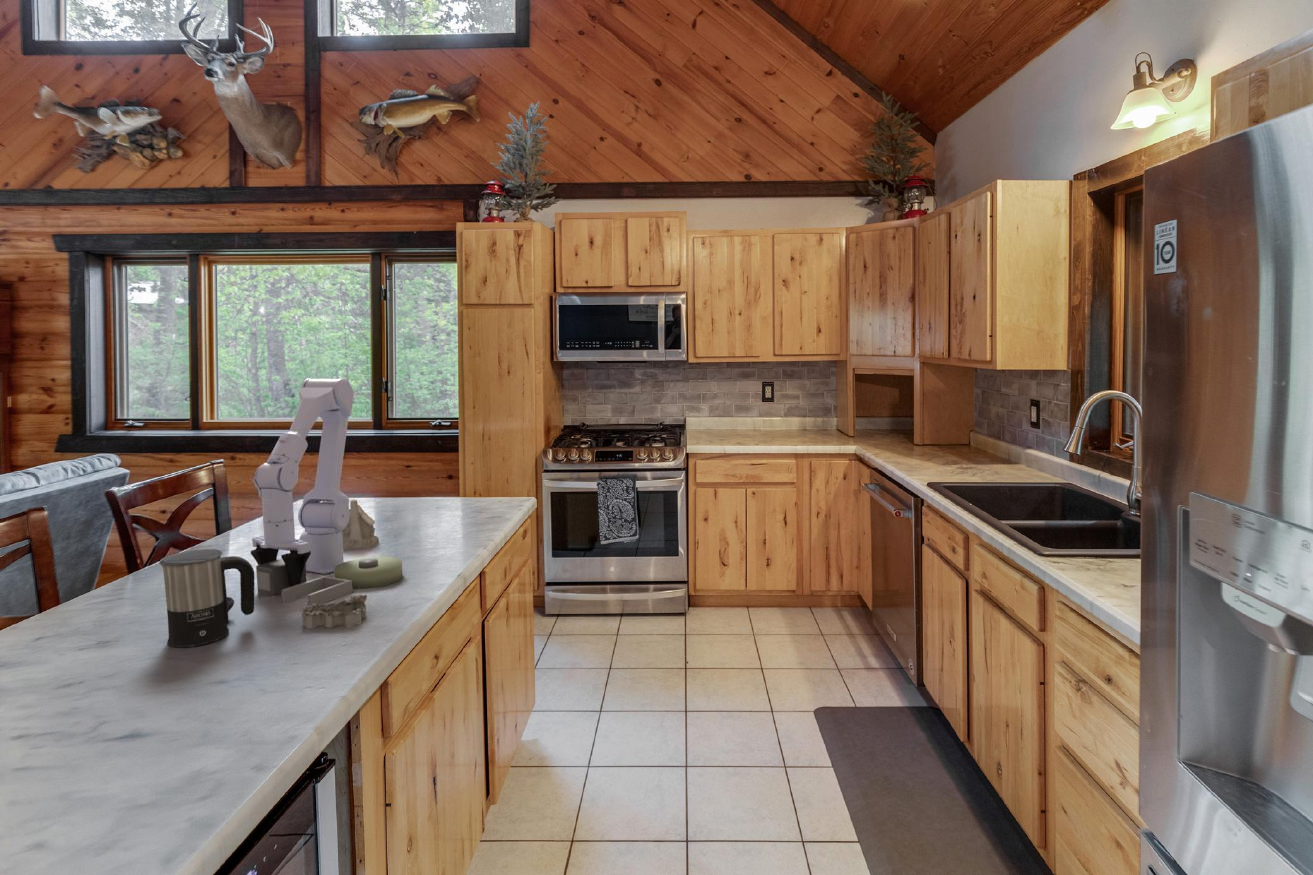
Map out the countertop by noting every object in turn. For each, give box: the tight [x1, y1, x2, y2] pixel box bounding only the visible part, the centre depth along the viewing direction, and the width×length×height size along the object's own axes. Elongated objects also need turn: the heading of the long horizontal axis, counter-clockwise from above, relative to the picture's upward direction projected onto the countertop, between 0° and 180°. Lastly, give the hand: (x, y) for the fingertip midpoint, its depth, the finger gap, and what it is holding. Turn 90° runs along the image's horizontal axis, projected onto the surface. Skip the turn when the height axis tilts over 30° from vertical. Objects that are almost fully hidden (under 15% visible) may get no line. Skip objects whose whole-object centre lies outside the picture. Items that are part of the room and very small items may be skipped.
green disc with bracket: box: [281, 556, 403, 605], centre depth 156 cm, size 14×26×4 cm, turn 156°
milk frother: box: [158, 548, 255, 648], centre depth 130 cm, size 14×16×15 cm
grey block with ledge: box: [255, 558, 308, 597], centre depth 153 cm, size 8×5×6 cm, turn 156°
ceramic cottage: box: [322, 499, 380, 551], centre depth 192 cm, size 16×16×15 cm
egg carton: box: [299, 594, 368, 629], centre depth 135 cm, size 11×8×4 cm
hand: (282, 582), depth 154 cm, fingers open, 7 cm apart
